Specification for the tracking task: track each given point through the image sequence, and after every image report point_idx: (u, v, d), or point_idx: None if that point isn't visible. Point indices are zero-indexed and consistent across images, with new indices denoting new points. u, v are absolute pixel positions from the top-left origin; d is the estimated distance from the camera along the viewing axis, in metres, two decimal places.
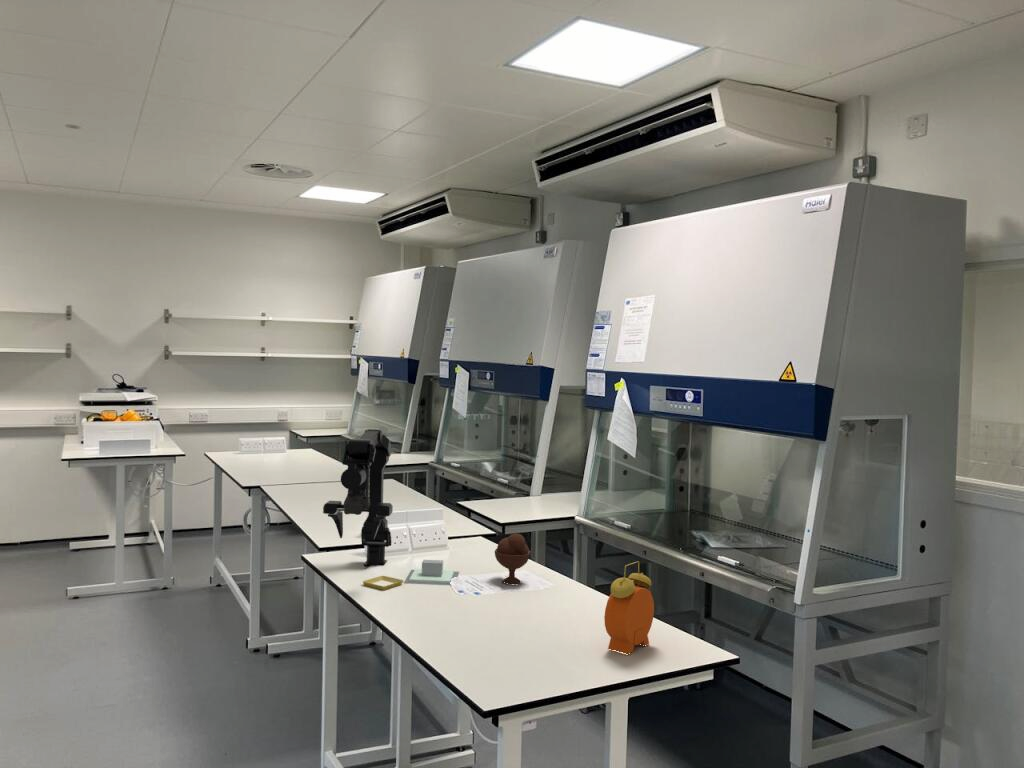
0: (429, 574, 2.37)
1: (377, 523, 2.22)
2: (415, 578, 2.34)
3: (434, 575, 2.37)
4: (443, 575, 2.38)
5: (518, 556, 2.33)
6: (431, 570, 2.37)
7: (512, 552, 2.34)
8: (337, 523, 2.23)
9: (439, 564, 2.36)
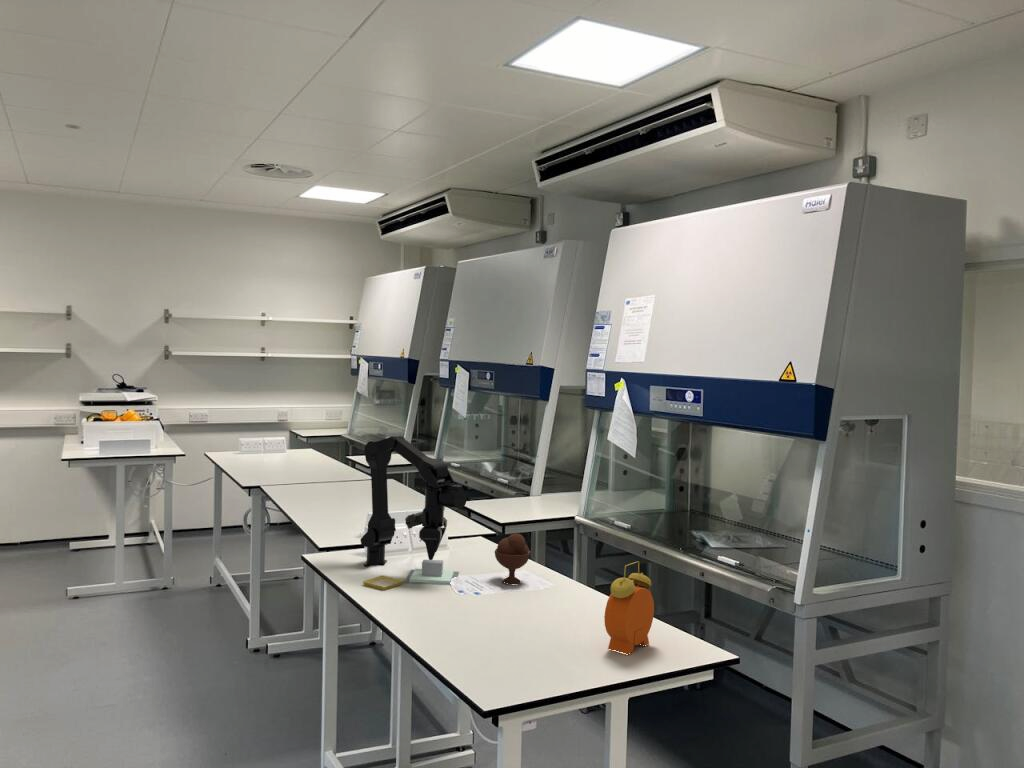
0: (429, 574, 2.37)
1: None
2: (415, 578, 2.34)
3: (434, 575, 2.37)
4: (443, 575, 2.38)
5: (518, 556, 2.33)
6: (431, 570, 2.37)
7: (512, 552, 2.34)
8: None
9: (439, 564, 2.36)
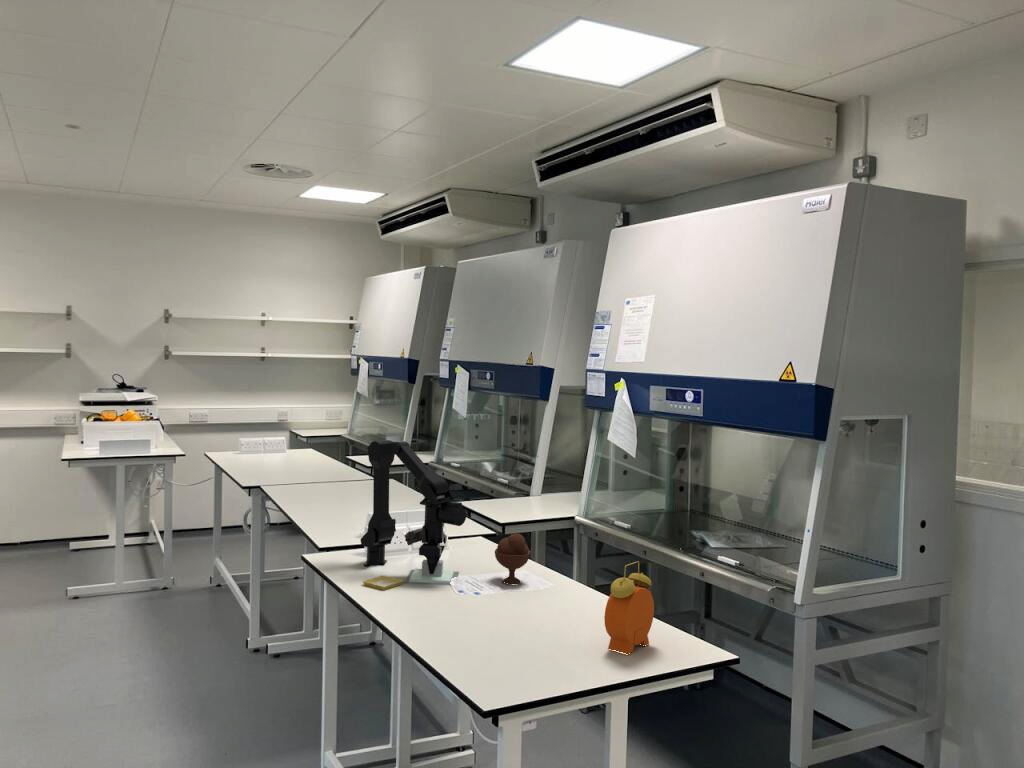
0: (429, 574, 2.37)
1: (426, 558, 2.35)
2: (415, 578, 2.34)
3: (434, 575, 2.37)
4: (443, 575, 2.38)
5: (518, 556, 2.33)
6: None
7: (512, 552, 2.34)
8: None
9: (439, 564, 2.36)
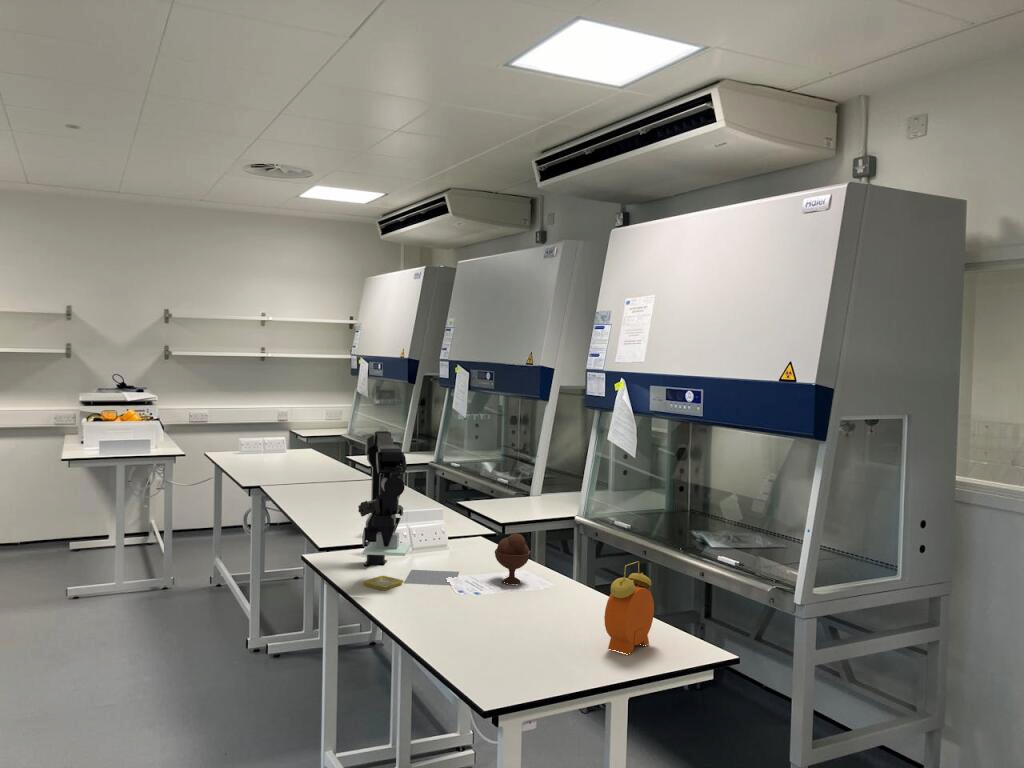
0: (384, 547, 2.27)
1: None
2: (369, 550, 2.24)
3: (389, 548, 2.27)
4: (399, 548, 2.28)
5: (518, 556, 2.33)
6: None
7: (512, 552, 2.34)
8: None
9: (394, 536, 2.27)
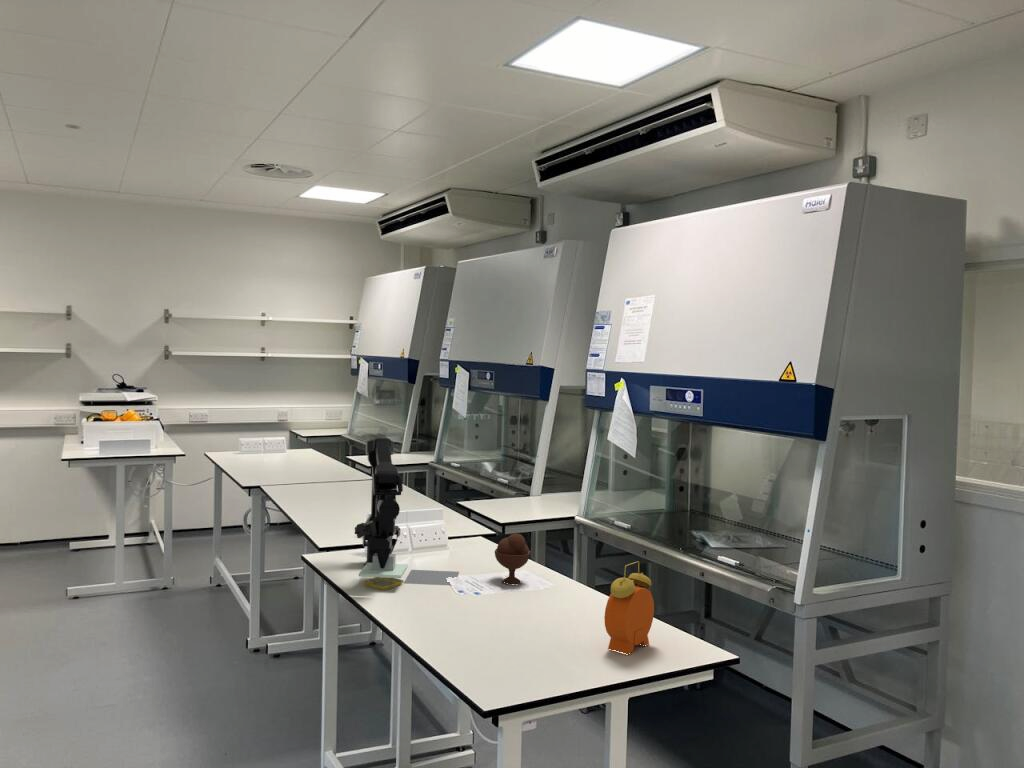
0: (380, 569, 2.27)
1: None
2: (365, 572, 2.24)
3: (385, 569, 2.27)
4: (395, 569, 2.28)
5: (518, 556, 2.33)
6: None
7: (512, 552, 2.34)
8: None
9: (390, 558, 2.27)
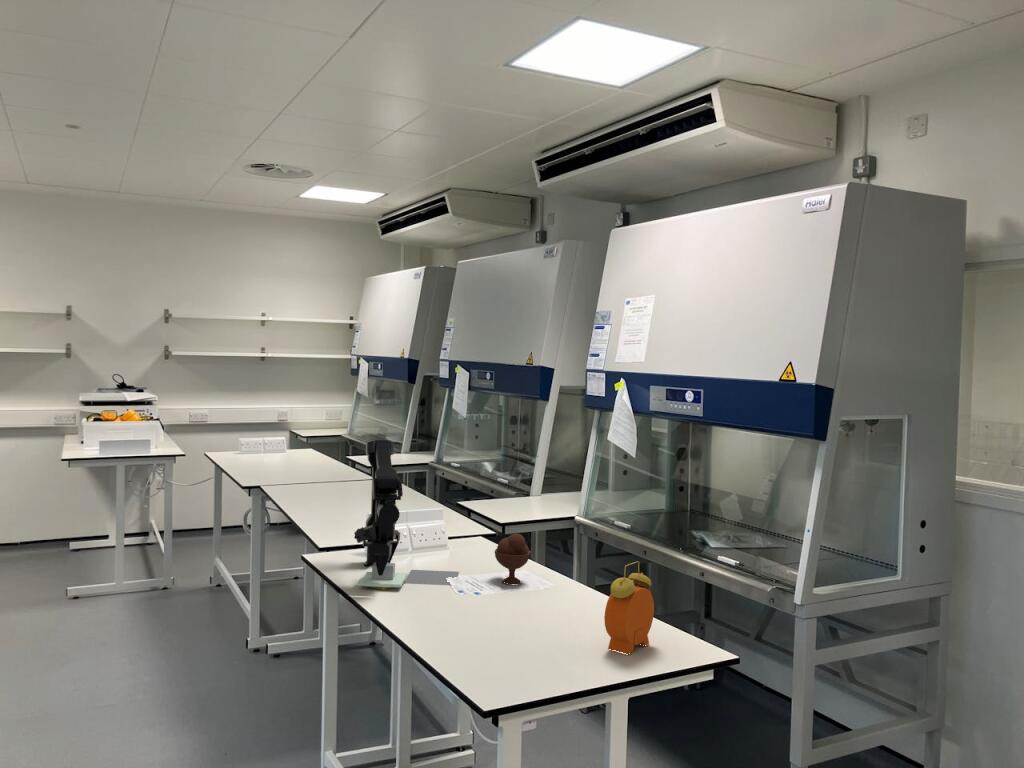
0: (380, 578, 2.27)
1: None
2: (364, 582, 2.24)
3: (385, 578, 2.27)
4: (394, 578, 2.28)
5: (518, 556, 2.33)
6: None
7: (512, 552, 2.34)
8: None
9: (390, 567, 2.27)
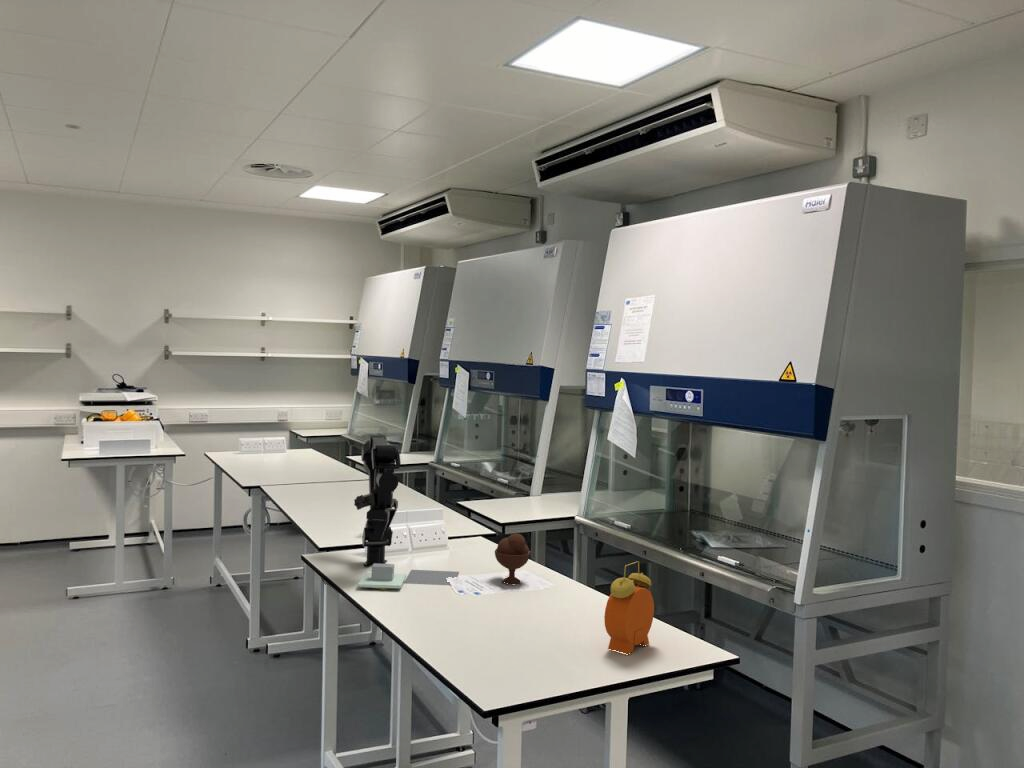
0: (380, 579, 2.27)
1: None
2: (364, 583, 2.24)
3: (384, 579, 2.27)
4: (394, 579, 2.28)
5: (518, 556, 2.33)
6: (381, 574, 2.27)
7: (512, 552, 2.34)
8: None
9: (389, 568, 2.27)
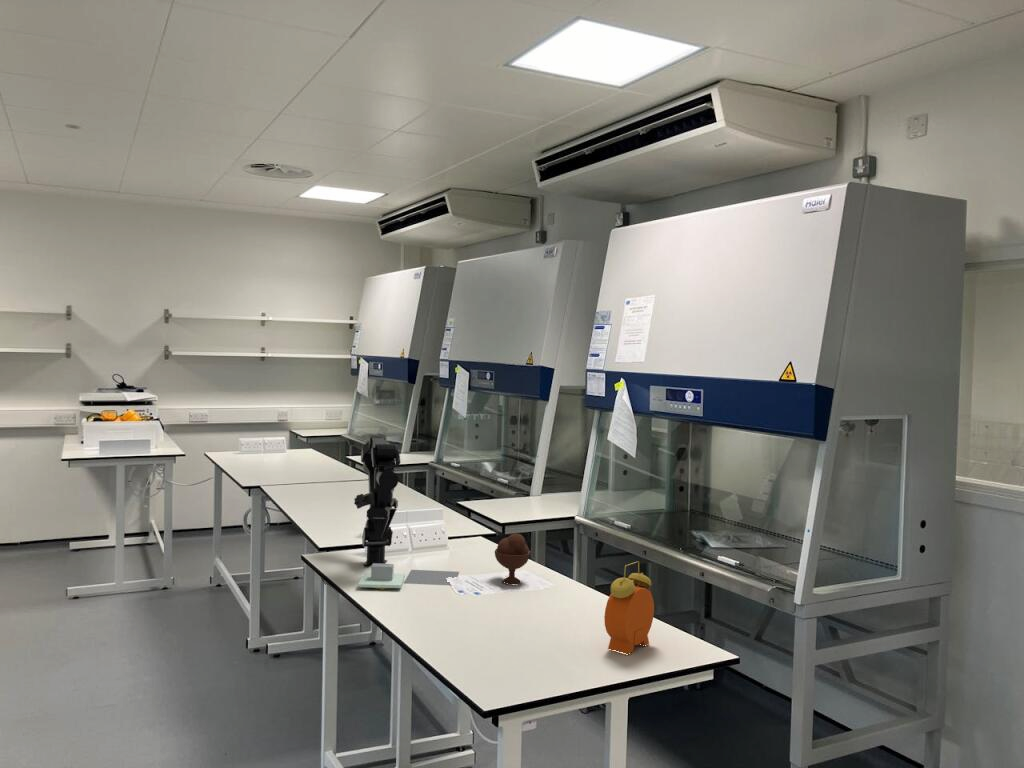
0: (379, 579, 2.27)
1: None
2: (364, 583, 2.24)
3: (384, 579, 2.27)
4: (393, 579, 2.29)
5: (518, 556, 2.33)
6: (380, 574, 2.27)
7: (512, 552, 2.34)
8: None
9: (389, 568, 2.27)
